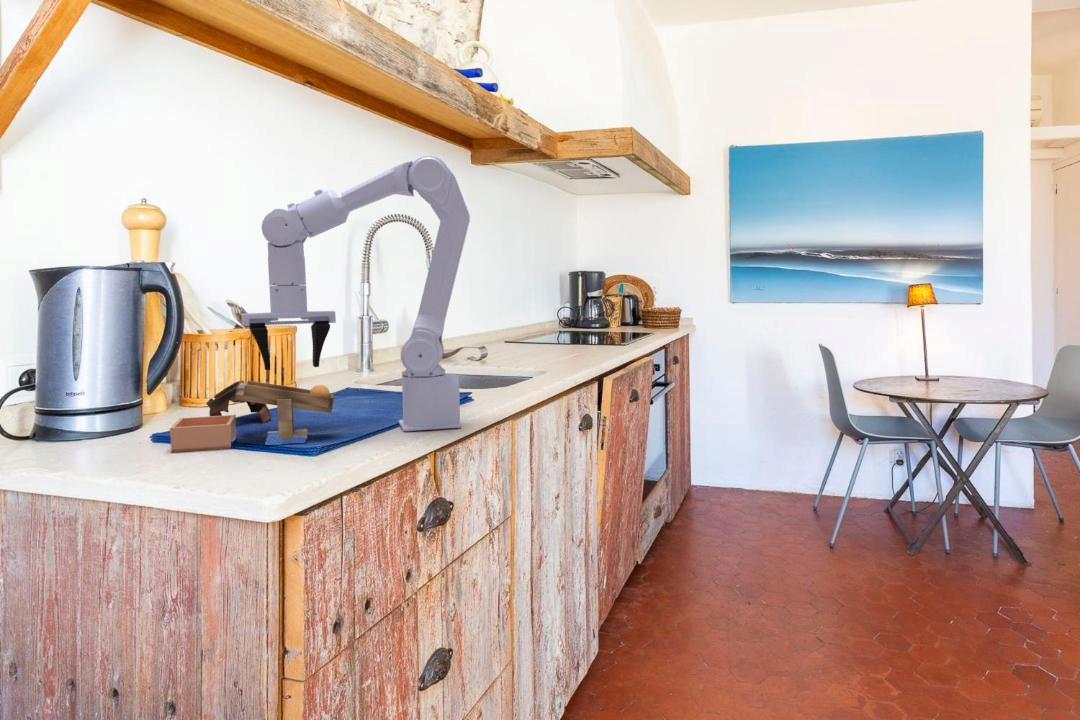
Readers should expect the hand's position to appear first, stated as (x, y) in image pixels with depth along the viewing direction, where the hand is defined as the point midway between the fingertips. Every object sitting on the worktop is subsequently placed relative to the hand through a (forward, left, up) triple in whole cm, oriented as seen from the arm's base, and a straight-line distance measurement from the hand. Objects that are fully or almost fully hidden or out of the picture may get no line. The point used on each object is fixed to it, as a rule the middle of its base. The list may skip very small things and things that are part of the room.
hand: (292, 367), depth 120 cm
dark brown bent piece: (+9, -11, -11) cm, 17 cm away
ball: (-4, +8, -3) cm, 10 cm away
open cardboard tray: (+13, +8, -10) cm, 18 cm away
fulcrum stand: (+1, +8, -10) cm, 13 cm away
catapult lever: (+1, +5, -5) cm, 7 cm away
